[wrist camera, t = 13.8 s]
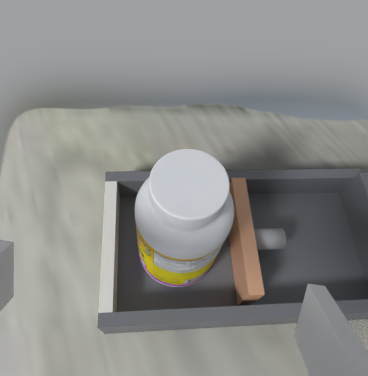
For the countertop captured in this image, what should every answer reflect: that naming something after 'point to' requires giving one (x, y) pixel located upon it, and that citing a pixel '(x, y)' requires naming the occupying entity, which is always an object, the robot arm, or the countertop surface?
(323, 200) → the grey shallow box
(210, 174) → the supplement bottle
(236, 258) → the lane pusher
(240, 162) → the countertop surface
